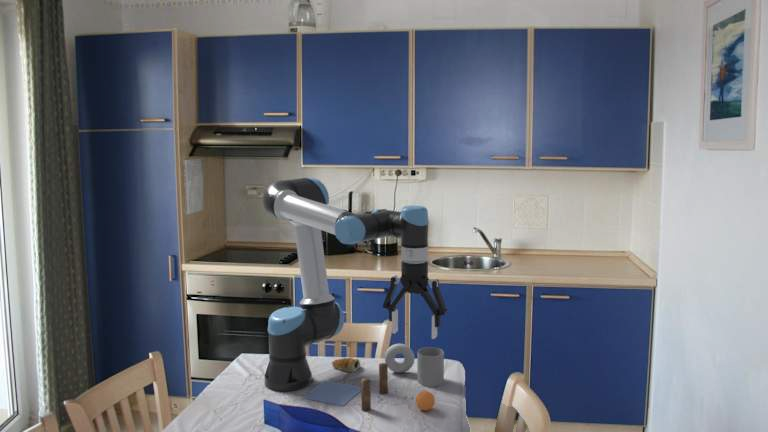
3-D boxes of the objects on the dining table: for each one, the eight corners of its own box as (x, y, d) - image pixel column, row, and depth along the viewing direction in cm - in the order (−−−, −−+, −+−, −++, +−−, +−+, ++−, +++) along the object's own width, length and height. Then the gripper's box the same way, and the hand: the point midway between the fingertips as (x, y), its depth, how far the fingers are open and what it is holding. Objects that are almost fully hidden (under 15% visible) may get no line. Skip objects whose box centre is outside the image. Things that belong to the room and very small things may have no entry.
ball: (412, 412, 191) (412, 393, 190) (419, 404, 196) (419, 386, 195) (430, 415, 189) (431, 397, 188) (437, 407, 194) (437, 389, 193)
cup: (441, 387, 208) (442, 357, 206) (415, 385, 209) (415, 355, 208) (444, 377, 216) (445, 348, 214) (419, 375, 218) (419, 346, 216)
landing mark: (302, 398, 201) (302, 397, 201) (324, 381, 213) (324, 380, 213) (343, 405, 195) (343, 405, 195) (363, 388, 208) (363, 387, 208)
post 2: (377, 393, 204) (377, 365, 202) (381, 390, 206) (381, 362, 205) (385, 394, 203) (385, 366, 201) (389, 391, 205) (388, 363, 204)
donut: (414, 370, 222) (414, 342, 220) (414, 374, 218) (414, 345, 217) (384, 370, 222) (384, 341, 221) (384, 374, 219) (384, 345, 217)
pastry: (328, 369, 224) (328, 359, 223) (337, 363, 230) (337, 352, 229) (353, 374, 220) (353, 363, 219) (362, 367, 226) (361, 356, 226)
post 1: (360, 410, 192) (359, 380, 191) (364, 406, 195) (363, 377, 193) (368, 411, 191) (368, 382, 190) (372, 408, 194) (371, 378, 192)
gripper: (370, 260, 189) (371, 333, 192) (450, 267, 179) (450, 344, 183) (381, 254, 195) (381, 325, 199) (458, 261, 186) (458, 336, 189)
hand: (414, 334), depth 191 cm, fingers open, 11 cm apart
